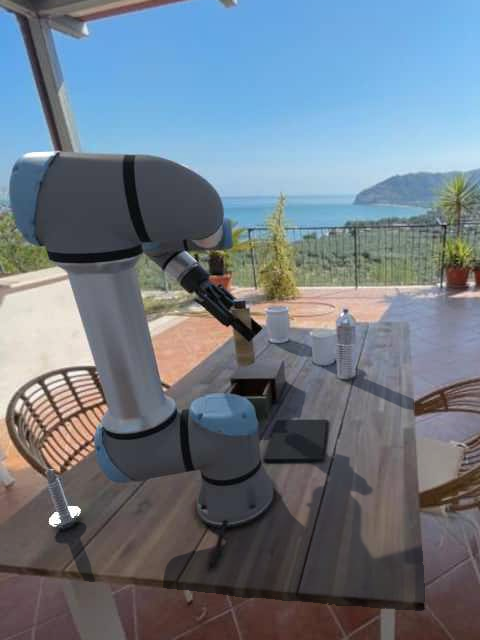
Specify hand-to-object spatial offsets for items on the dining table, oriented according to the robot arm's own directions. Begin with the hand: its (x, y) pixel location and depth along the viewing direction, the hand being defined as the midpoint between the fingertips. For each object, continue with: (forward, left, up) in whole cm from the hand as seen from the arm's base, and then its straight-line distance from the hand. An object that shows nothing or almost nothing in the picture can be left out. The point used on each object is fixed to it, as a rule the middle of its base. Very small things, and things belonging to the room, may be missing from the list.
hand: (256, 334), depth 106 cm
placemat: (-14, -12, -24) cm, 31 cm away
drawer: (0, +4, -24) cm, 24 cm away
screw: (-42, +29, -25) cm, 57 cm away
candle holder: (+40, -15, -25) cm, 49 cm away
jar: (+65, +7, -25) cm, 69 cm away
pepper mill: (0, +4, -8) cm, 9 cm away
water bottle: (+26, -24, -25) cm, 43 cm away
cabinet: (+14, +4, -24) cm, 28 cm away
